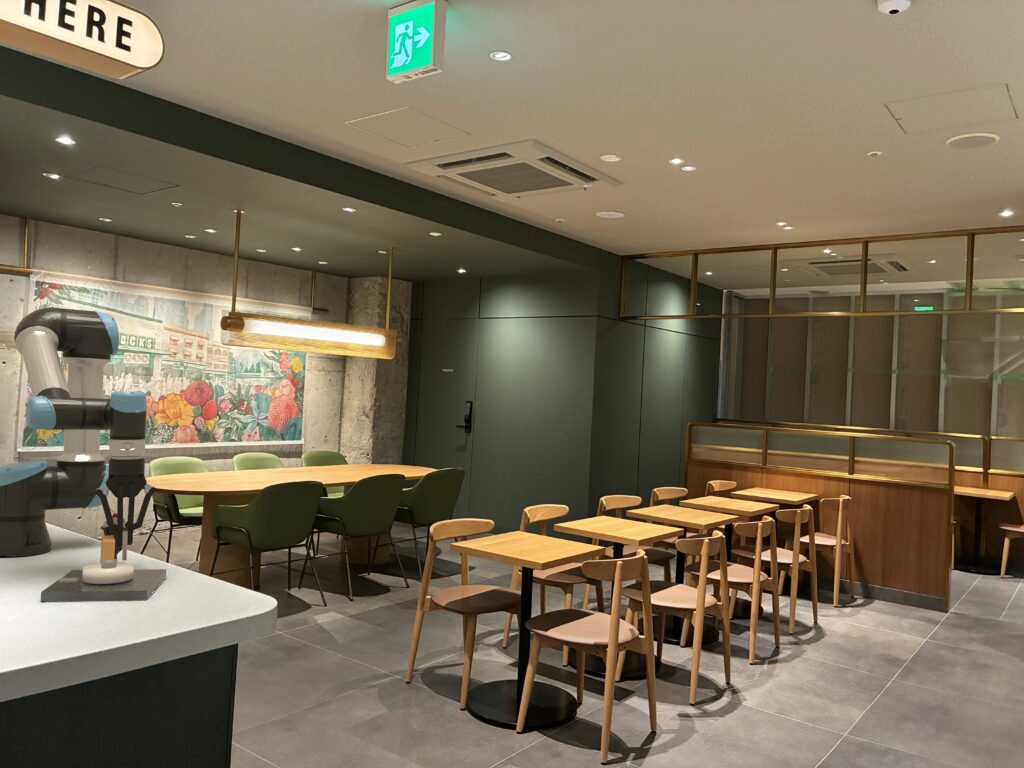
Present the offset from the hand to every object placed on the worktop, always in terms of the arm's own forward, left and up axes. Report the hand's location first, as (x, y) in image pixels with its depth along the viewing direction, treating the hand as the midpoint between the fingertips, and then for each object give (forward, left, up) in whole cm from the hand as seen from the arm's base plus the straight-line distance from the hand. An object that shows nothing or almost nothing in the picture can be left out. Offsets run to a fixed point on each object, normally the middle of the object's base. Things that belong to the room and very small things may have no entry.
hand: (124, 559), depth 179 cm
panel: (+10, -1, -5) cm, 11 cm away
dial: (+6, -2, -2) cm, 7 cm away
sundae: (-11, -5, -5) cm, 13 cm away
